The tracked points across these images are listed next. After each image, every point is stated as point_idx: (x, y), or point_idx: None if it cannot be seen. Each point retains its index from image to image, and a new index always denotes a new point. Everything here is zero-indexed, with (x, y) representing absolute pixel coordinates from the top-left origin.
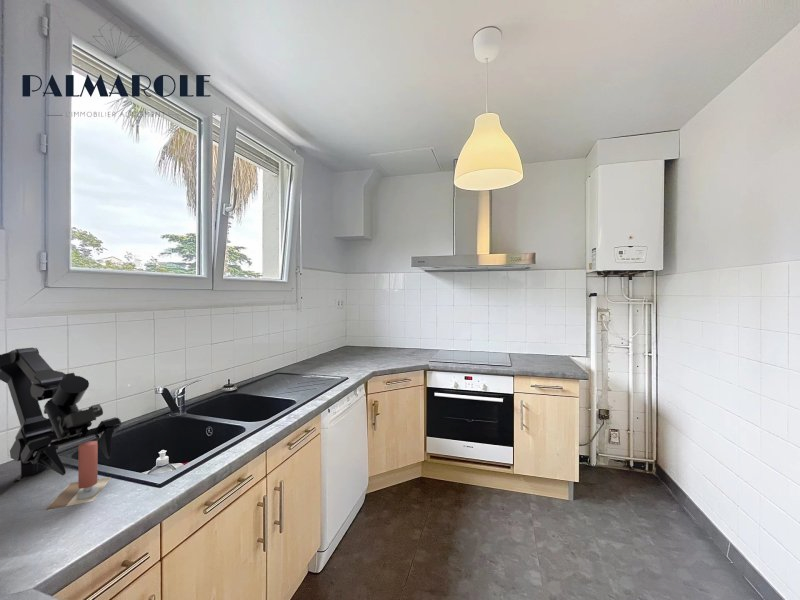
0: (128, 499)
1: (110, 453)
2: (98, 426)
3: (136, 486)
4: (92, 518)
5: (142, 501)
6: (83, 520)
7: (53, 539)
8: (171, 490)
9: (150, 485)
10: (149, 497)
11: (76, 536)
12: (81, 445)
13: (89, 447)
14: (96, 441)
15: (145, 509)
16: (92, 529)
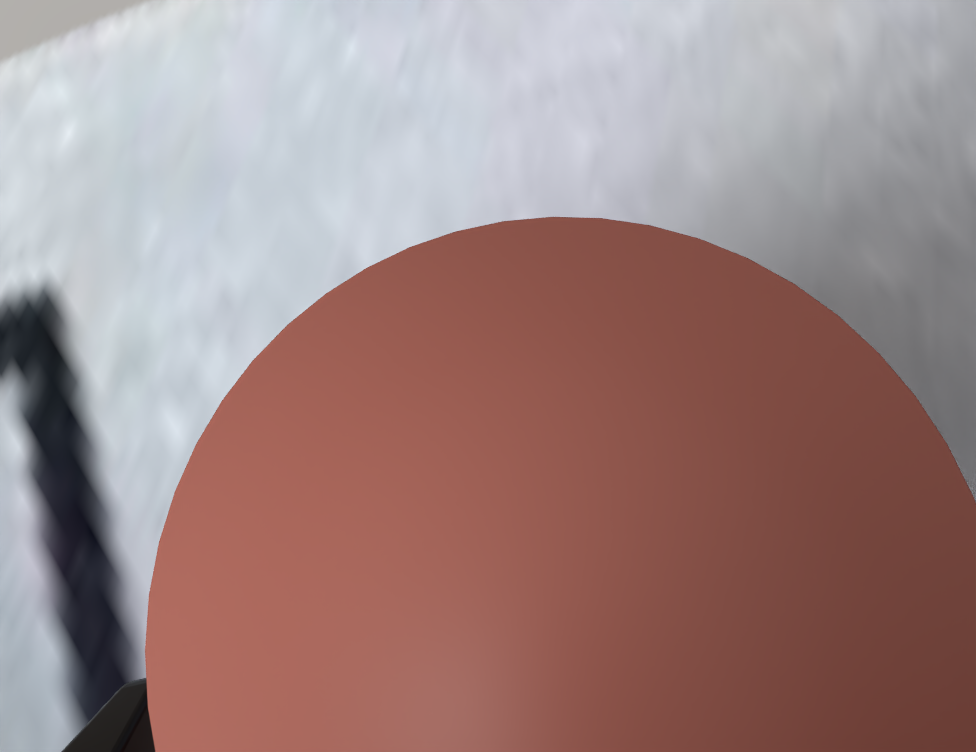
0: (315, 294)
1: (87, 730)
2: None
3: (164, 516)
4: (620, 194)
5: (257, 161)
6: (682, 218)
7: (903, 95)
8: (32, 161)
9: (80, 416)
10: (193, 184)
11: (760, 12)
12: (856, 675)
13: (571, 247)
14: (164, 680)
15: (295, 18)
16: (653, 23)
